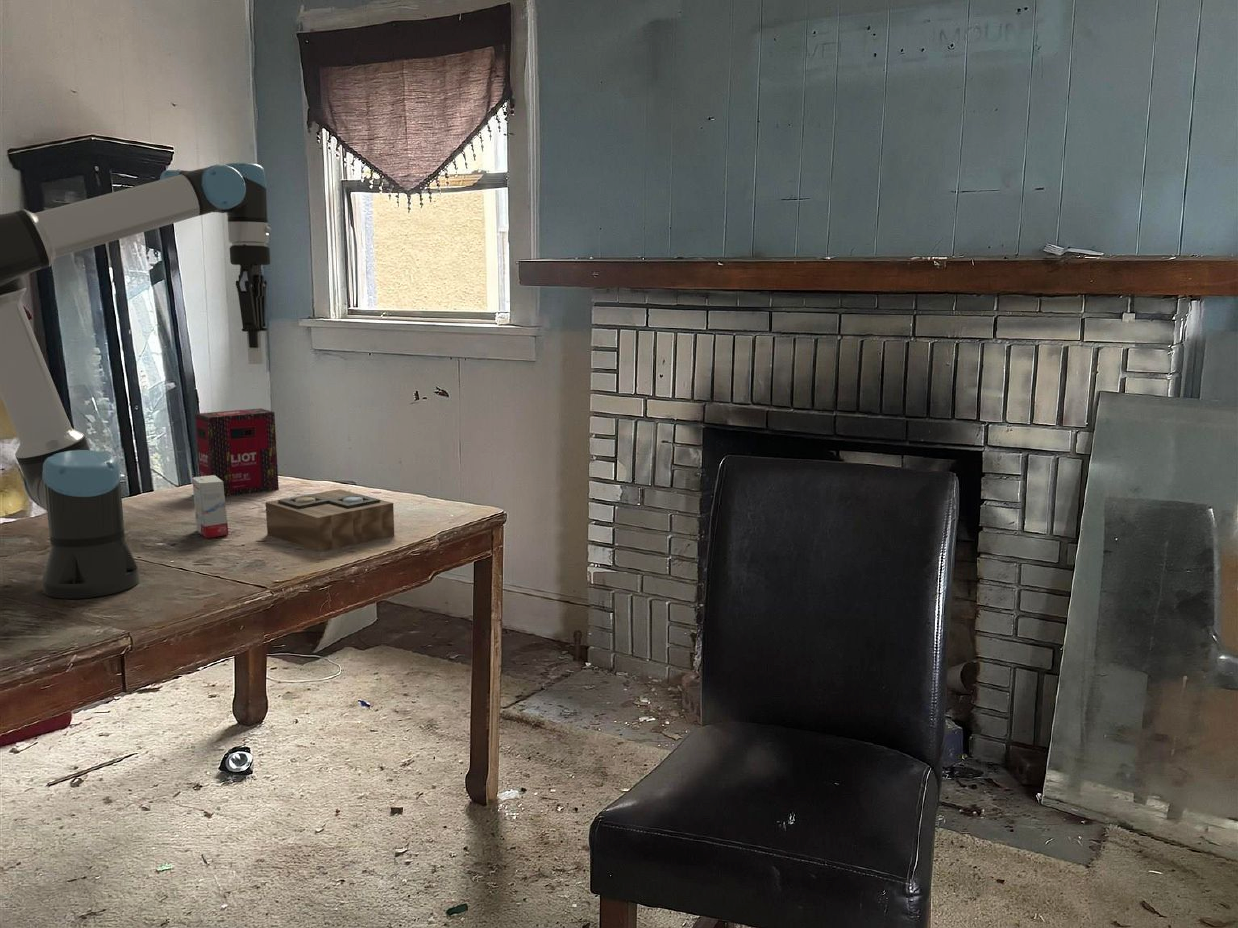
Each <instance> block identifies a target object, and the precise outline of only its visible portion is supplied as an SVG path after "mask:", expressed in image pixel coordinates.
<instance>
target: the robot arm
mask: <svg viewBox="0 0 1238 928" xmlns="http://www.w3.org/2000/svg"><path fill="white" fill-rule="evenodd" d="M266 180H267V179H266V171H265V170H264V167H262V165H260V164H256V163H249V162H248V163H245V162H233V163H232V162H229V163H226V164H214V165H210V166H208V167H207V166H206V167H203V168H198V169H194V170H193V169H192V170H181V169H165V170H164V171H162V173H161V174H160V177H159V180H155V181H151V182H148V183H143V184H140V185H136V186H132V187H129V188H124V189H121V190H117V191H113V192H109V193H106V194H101V195H99V196H94V197H92V198H91V197H90V198H87V199H84V200H79V201H76V202H71V203H69V204H65V205H61V206H57V207H54V208H49V209H45V210H42V211H37V212H32V211H29V210H27V209H25V208H24V209H19V210H16V211H12V212H8V213H1V214H0V399H1V400H2V403H3V405H4V407H5V410H6V412H7V415H8V417H9V420H10V422H11V424H12V426H13V427H12V428H13V429H14V431H15V434H16V436H17V438H18V441H19V446H18V448H17V450H16V451H15V453H14V455H15V459H16V461H17V463H18V466H19V468H20V471H21V473H22V475H23V486H24V487H23V488H24V489H25V492H26V493H27V495H28V497H29V498H30V499H31V501H33V503H35V504H36V505H37V506H38V507H39V508H41V509H43V510H45V511H46V515H47V524H48V534H49V543H50V546H49V548H50V549H49V553H48V557H47V560H46V564H45V568H44V571H43V572H44V573H43V574H42V575H43V577H42V591H43V594H44V595H46V596H48V597H51V598H56V599H64V600H65V599H87V598H89V599H90V598H96V597H102V596H103V597H104V596H108V595H113V594H117V593H120V592H123V591H126V590H129V589H131V588H133V587H135V586H136V585H137V584H139V582H140V572H139V571H140V570H139V567H138V564H137V562H136V560H135V559H134V556H133V554H132V552H131V549H130V547H129V546H128V543H127V540H126V535H125V521H124V511H123V509H124V508H123V501H122V497H123V496H122V487H121V486H122V485H121V479H122V475H121V474H122V473H121V471H120V469H119V468H120V467H119V462H118V460H117V459H116V457H114V455H112V454H110V453H108V452H105V451H96V450H93V449H90V446H89V443H88V441H87V438H86V436H85V434H84V433H83V432H81V431H78V430H76V429H74V428H73V427H72V425H71V423H70V421H69V418H68V416H67V413H66V411H65V408H64V406H63V403H62V400H61V398H60V395H59V393H58V390H57V388H56V385H55V383H54V381H53V378H52V376H51V372H50V371H49V368H48V365H47V363H46V361H45V360H46V359H45V358H44V355H43V353H42V351H41V348H40V345H39V342H38V341H37V338H36V335H35V334H34V329H33V328H32V325H31V322H30V320H29V318H28V315H27V313H26V310H25V308H24V305H23V303H22V299H23V297H24V294H25V293H26V291H27V287H26V285H25V282H24V279H23V277H24V276H26V275H28V274H31V273H33V272H36V271H39V270H43V269H46V268H49V267H51V265H52V264H53V262H54V260H55V259H56V258H60V257H64V256H67V255H70V254H74V253H77V252H81V251H83V250H84V251H85V250H87V249H90V248H95V247H97V246H101V245H104V244H108V243H110V242H114V241H117V240H121V239H124V238H129V237H131V236H134V235H138V234H142V233H146V232H148V231H152V230H155V229H158V228H162V227H165V226H169V225H172V224H175V223H178V222H182V221H185V220H189V219H192V218H196V217H199V216H204V215H206V214H207V215H208V214H210V213H211V214H212V213H220V214H226V215H227V232H228V233H227V234H228V242H229V243H230V244H231V245H230V247H229V262H230V264H231V265H233V266H239V274H238V280H236V281H235V287H236V291H237V294H238V295H237V296H238V302H239V308H240V309H239V310H240V317H241V325H242V328H241V332H245V333H246V340H247V341H246V343H247V359H248V365H264V364H265V349H264V335H263V334H264V332H266V331H267V330H268V327H266V325H267V324H266V322H267V320H266V316H267V314H266V312H267V311H266V310H267V308H266V307H267V305H266V303H267V301H266V300H267V286H268V285H267V284H268V282H267V279H265V275H264V274H263V272H262V266H268V265H270V264H271V249H270V247H269V246H267V244H268V243H270V238H269V236H270V235H269V234H270V233H271V232H272V228H271V227H269V225H268V223H269V219H268V199H267V198H268V197H267V196H268V195H267V191H268V187H267V181H266Z"/></svg>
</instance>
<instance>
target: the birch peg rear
mask: <svg viewBox="0 0 1238 928" xmlns="http://www.w3.org/2000/svg"><path fill="white" fill-rule="evenodd" d="M295 501H296V502H297V503H300V504H302V503H308V502H313V501H315V498H312V497H303V498H298V499H296V500H295Z"/></svg>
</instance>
